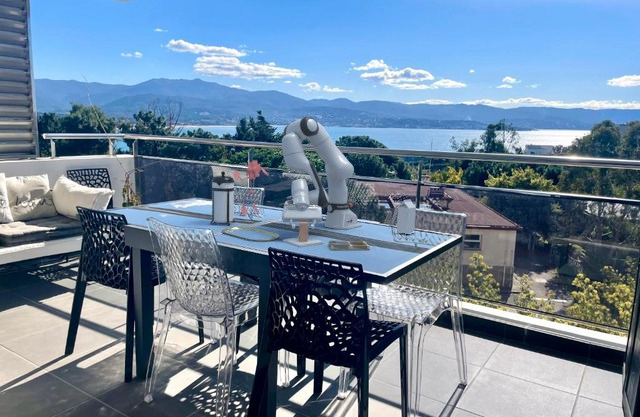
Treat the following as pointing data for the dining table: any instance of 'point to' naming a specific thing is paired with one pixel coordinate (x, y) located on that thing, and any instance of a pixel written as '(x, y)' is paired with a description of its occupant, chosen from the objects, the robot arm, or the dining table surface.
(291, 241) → the off-white ceramic tile
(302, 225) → the terracotta peg block
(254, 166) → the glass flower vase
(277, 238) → the serving platter
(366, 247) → the birch puzzle board
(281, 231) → the dining table surface
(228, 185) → the coffee press
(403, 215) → the milk carton
